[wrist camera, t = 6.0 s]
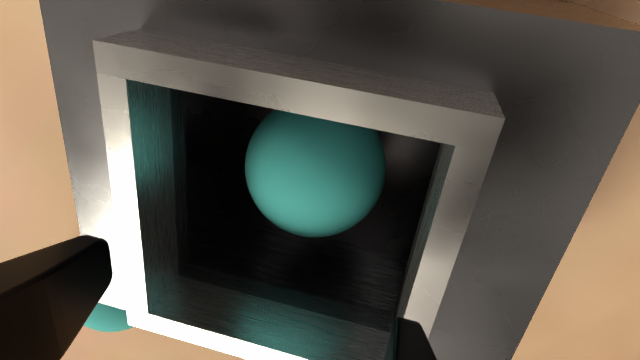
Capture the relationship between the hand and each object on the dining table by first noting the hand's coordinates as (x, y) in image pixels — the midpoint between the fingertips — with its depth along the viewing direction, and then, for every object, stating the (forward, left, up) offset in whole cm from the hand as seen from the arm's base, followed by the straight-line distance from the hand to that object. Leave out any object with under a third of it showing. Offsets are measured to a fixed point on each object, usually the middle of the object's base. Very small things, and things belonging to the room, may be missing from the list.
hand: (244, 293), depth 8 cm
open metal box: (0, 0, -8) cm, 8 cm away
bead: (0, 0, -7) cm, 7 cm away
